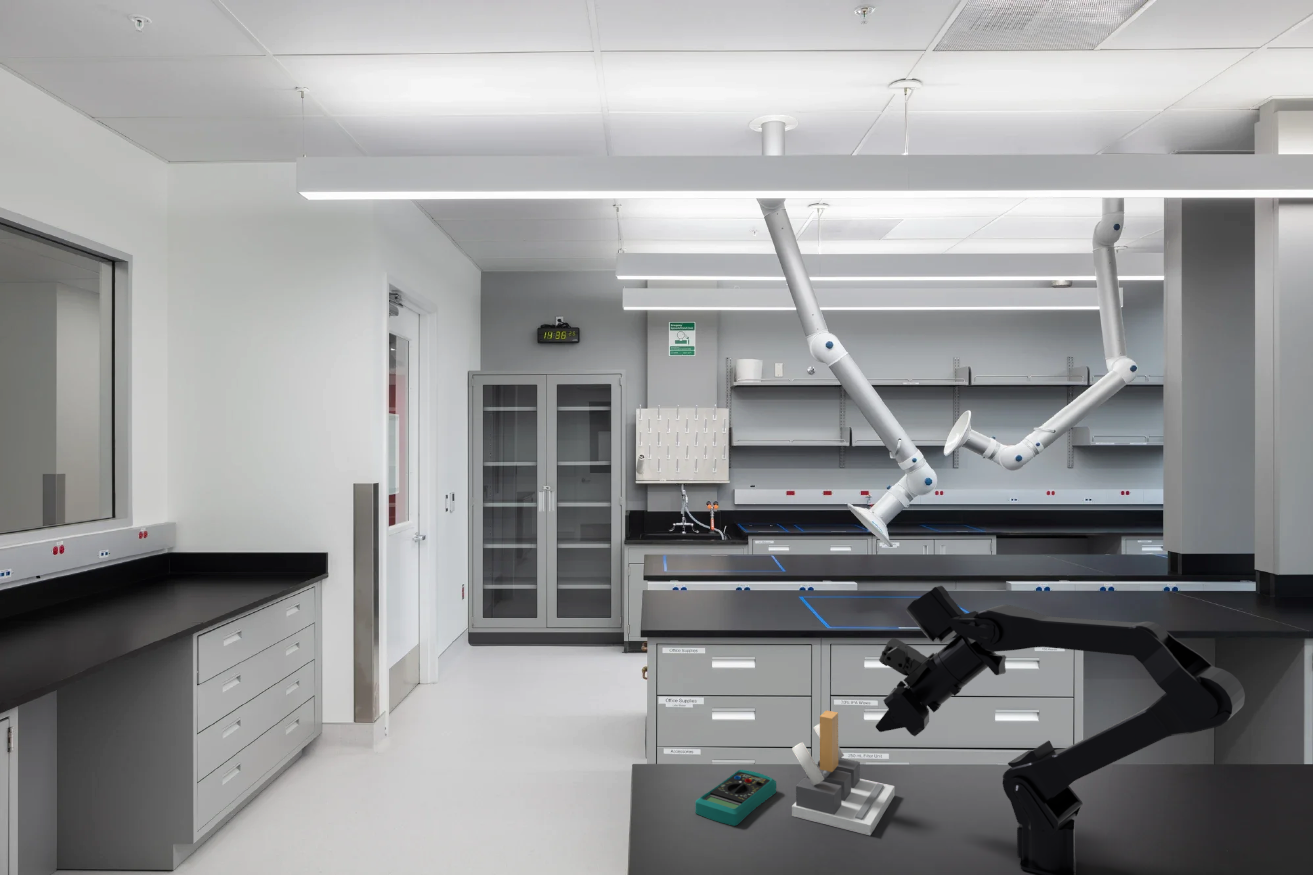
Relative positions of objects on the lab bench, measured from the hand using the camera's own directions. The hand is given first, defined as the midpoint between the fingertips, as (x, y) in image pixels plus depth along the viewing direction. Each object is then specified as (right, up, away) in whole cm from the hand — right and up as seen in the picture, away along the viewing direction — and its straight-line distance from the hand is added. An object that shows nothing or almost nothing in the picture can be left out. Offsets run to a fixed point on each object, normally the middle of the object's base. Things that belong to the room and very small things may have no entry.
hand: (877, 728), depth 120 cm
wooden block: (-7, -8, +4) cm, 11 cm away
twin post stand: (-5, -13, +3) cm, 14 cm away
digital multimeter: (-21, -14, +4) cm, 26 cm away
